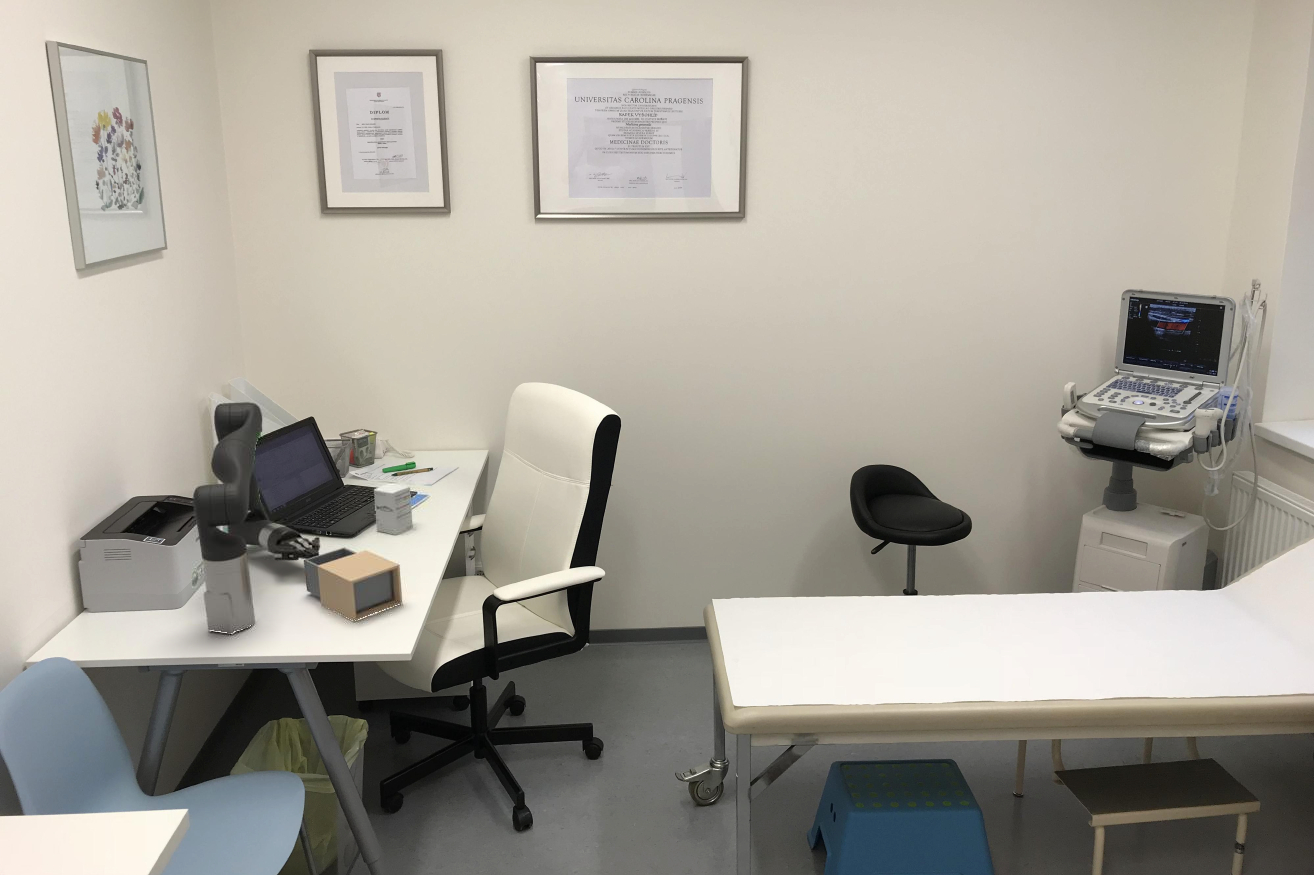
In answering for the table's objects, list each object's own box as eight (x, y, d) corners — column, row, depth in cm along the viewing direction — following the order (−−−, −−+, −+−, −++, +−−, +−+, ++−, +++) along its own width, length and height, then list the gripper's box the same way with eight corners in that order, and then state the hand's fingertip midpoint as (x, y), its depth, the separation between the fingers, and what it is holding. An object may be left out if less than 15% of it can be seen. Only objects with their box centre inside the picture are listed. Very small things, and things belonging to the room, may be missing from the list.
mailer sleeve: (321, 605, 240) (317, 565, 237) (369, 588, 249) (365, 550, 247) (354, 622, 231) (350, 581, 228) (402, 604, 240) (399, 564, 238)
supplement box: (376, 531, 288) (372, 489, 284) (394, 523, 294) (390, 482, 291) (396, 535, 284) (392, 493, 281) (413, 527, 291) (410, 485, 287)
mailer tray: (306, 590, 245) (303, 560, 243) (347, 577, 253) (344, 547, 251) (352, 614, 233) (349, 581, 230) (393, 599, 240) (391, 567, 238)
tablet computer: (394, 495, 321) (394, 491, 321) (431, 498, 318) (430, 494, 318) (363, 515, 303) (363, 510, 302) (402, 518, 300) (401, 514, 300)
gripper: (254, 533, 256) (289, 550, 245) (302, 520, 265) (338, 535, 254) (257, 561, 258) (292, 579, 247) (305, 547, 267) (341, 563, 256)
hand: (316, 556), depth 250 cm, fingers closed
